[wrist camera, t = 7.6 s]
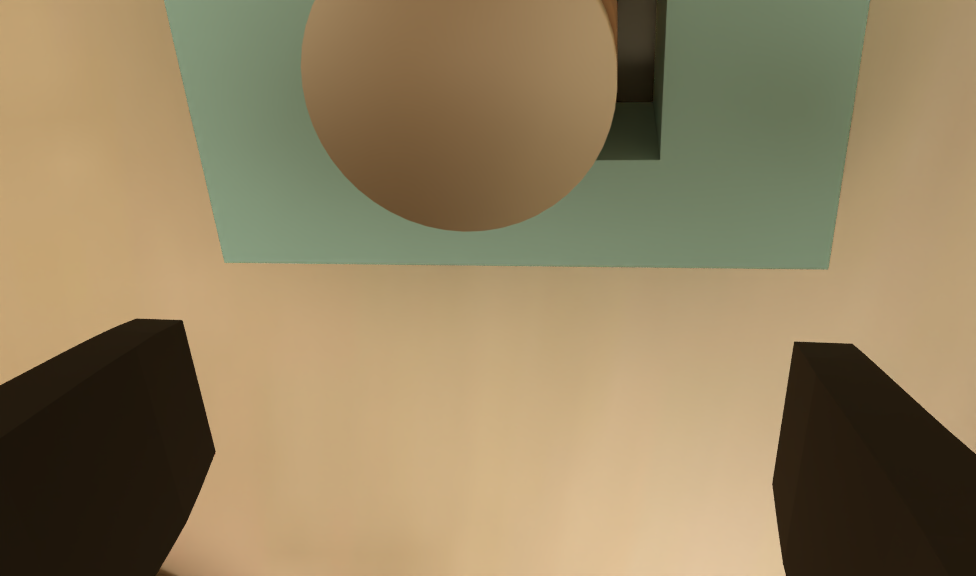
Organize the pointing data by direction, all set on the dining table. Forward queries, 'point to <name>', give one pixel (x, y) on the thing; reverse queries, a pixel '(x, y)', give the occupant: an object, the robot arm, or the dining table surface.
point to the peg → (462, 102)
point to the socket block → (607, 185)
